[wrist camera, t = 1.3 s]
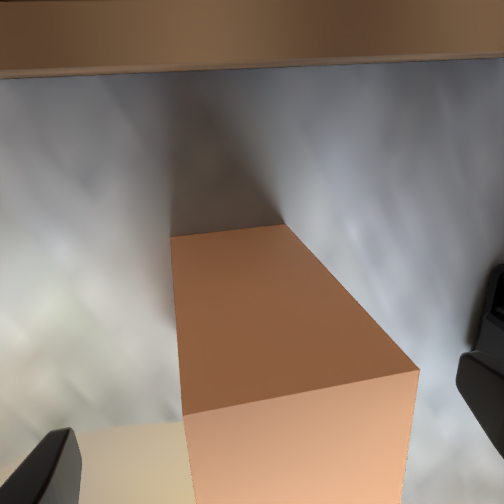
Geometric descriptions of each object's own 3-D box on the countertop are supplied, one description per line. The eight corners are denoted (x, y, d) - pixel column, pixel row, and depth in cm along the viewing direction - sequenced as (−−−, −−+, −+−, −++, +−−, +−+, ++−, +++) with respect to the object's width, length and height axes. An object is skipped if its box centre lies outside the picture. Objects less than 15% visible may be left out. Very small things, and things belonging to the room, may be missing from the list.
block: (285, 223, 14) (419, 369, 7) (286, 320, 16) (397, 523, 8) (169, 237, 13) (182, 415, 6) (183, 337, 15) (206, 574, 8)
